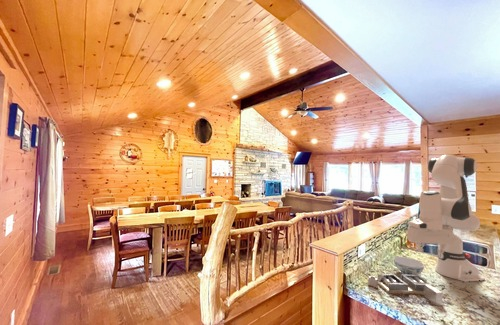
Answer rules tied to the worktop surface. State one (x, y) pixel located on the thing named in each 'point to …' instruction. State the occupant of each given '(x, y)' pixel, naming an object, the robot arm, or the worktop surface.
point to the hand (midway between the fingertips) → (430, 252)
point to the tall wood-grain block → (433, 294)
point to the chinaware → (408, 265)
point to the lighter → (375, 280)
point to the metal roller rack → (402, 284)
